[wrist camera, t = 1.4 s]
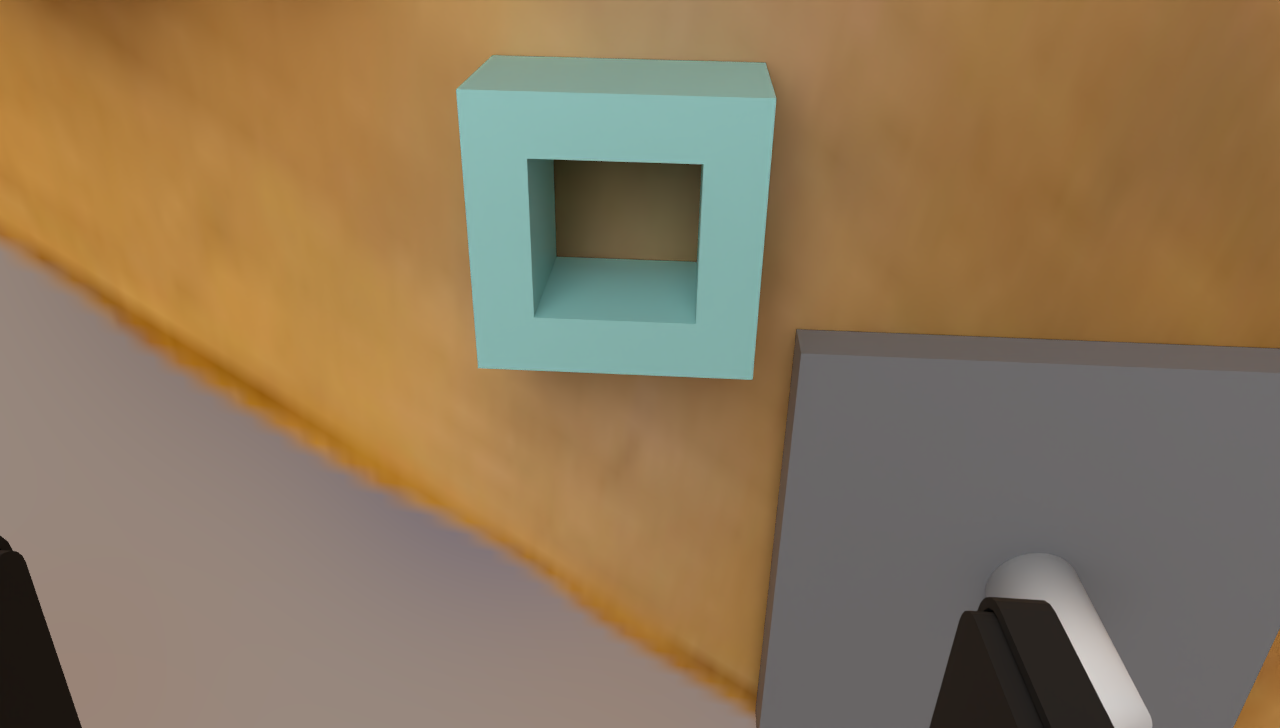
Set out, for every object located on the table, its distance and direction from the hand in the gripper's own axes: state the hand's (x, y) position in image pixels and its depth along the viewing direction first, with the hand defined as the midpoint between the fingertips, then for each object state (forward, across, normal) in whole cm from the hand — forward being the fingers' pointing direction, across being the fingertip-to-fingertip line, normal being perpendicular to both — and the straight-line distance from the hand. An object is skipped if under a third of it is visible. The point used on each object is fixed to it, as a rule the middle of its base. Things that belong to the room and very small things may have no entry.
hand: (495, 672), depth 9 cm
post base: (+18, -14, +12) cm, 25 cm away
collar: (+18, 0, 0) cm, 18 cm away
